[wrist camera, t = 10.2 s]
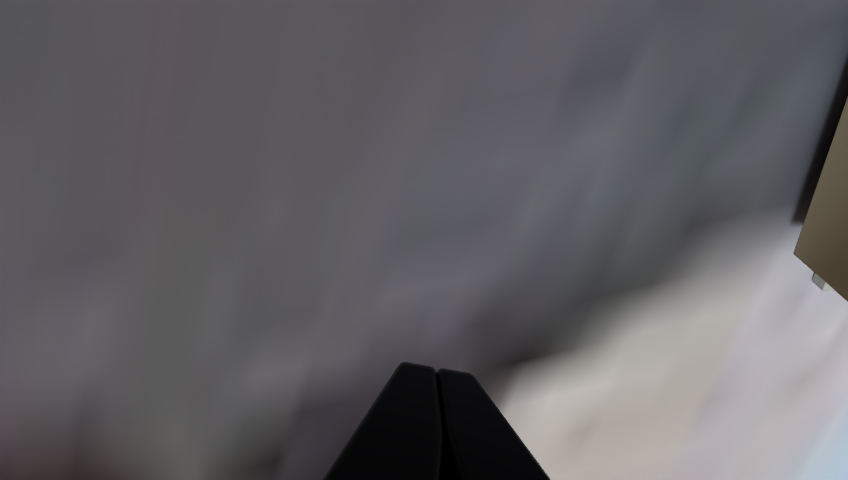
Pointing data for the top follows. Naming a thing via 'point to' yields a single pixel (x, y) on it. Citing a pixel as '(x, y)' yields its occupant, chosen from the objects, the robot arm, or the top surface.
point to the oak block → (829, 217)
